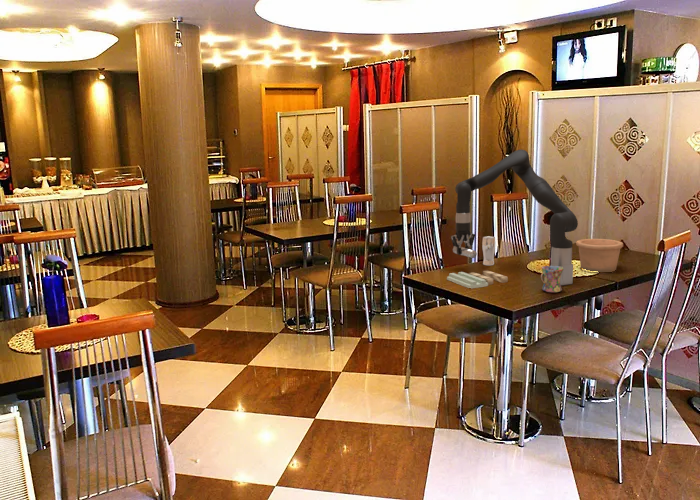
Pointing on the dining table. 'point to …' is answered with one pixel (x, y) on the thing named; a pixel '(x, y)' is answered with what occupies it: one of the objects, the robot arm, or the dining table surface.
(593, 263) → the pottery
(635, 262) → the dining table surface
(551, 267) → the mug
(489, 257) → the beer glass
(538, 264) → the dining table surface
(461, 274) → the grooved block
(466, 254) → the axle
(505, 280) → the wooden blocks
